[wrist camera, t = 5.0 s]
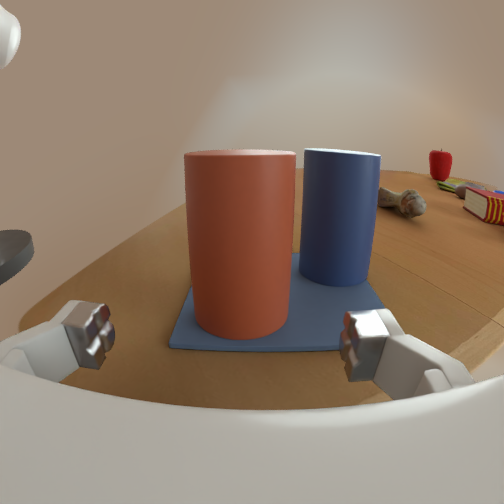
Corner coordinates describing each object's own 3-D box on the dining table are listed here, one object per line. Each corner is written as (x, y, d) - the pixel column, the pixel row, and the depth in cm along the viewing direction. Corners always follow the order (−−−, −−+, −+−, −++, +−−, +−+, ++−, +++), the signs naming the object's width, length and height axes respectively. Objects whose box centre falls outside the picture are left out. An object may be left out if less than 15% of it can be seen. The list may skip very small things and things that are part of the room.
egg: (460, 196, 72) (462, 182, 71) (476, 201, 67) (477, 187, 66) (450, 195, 70) (452, 181, 69) (466, 201, 65) (468, 186, 64)
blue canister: (303, 287, 23) (311, 150, 19) (294, 256, 28) (299, 147, 25) (376, 286, 23) (393, 157, 19) (356, 257, 28) (365, 152, 25)
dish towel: (433, 187, 82) (434, 179, 81) (447, 184, 97) (448, 177, 96) (483, 200, 70) (484, 191, 69) (487, 194, 85) (488, 187, 84)
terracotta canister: (186, 338, 17) (170, 157, 13) (202, 289, 22) (196, 150, 19) (292, 340, 17) (303, 156, 13) (284, 290, 22) (289, 150, 19)
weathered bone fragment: (367, 189, 54) (399, 194, 40) (391, 180, 53) (428, 181, 39) (376, 215, 55) (410, 227, 40) (399, 204, 54) (437, 214, 40)
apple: (451, 181, 108) (454, 151, 103) (448, 182, 102) (451, 150, 97) (430, 176, 115) (432, 147, 110) (425, 177, 109) (427, 145, 104)
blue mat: (169, 348, 17) (168, 342, 16) (205, 255, 30) (205, 252, 29) (403, 344, 16) (405, 339, 16) (348, 257, 29) (348, 253, 29)
